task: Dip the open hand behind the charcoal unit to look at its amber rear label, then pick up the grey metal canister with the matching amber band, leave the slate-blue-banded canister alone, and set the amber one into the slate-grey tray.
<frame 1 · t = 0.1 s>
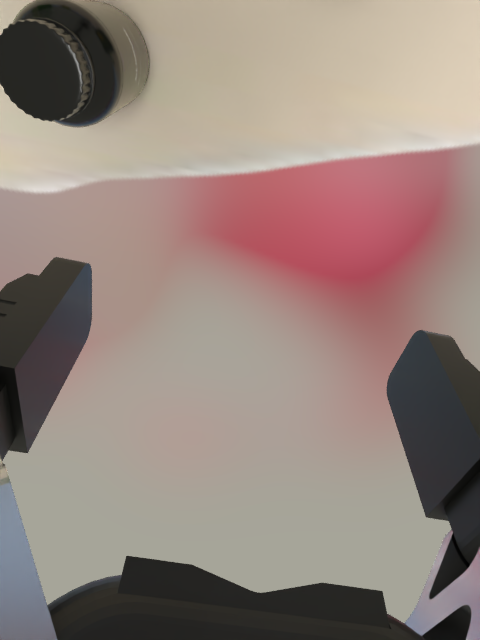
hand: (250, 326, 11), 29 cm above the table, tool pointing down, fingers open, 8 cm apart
supplement bottle: (106, 55, 32), on the table
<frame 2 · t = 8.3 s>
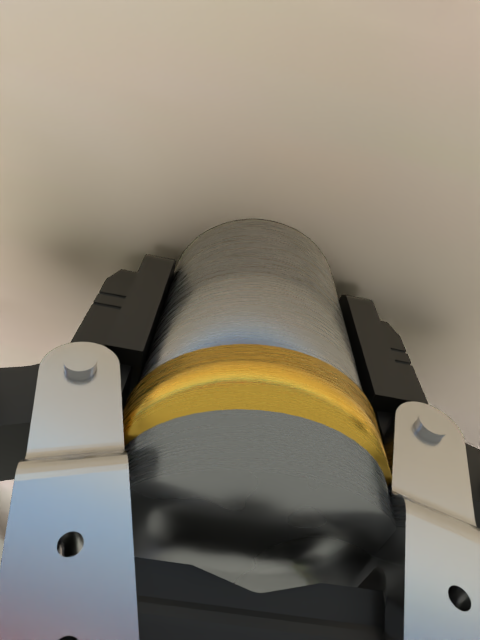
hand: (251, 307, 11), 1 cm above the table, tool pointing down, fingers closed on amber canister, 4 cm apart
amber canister: (252, 294, 12), on the table, touching gripper
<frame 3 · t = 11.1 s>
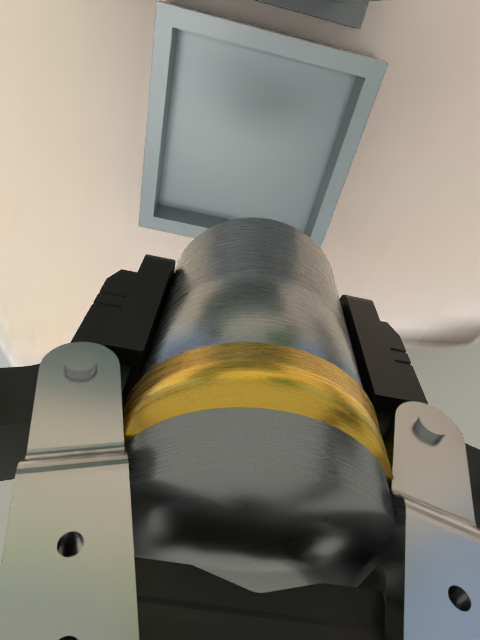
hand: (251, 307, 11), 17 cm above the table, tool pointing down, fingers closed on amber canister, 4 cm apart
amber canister: (252, 293, 12), point 16 cm above the table, touching gripper
tray: (249, 142, 25), on the table
when the fingers open (3 cm above the table, at t = 14.3 s): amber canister drops 2 cm, resting on tray.
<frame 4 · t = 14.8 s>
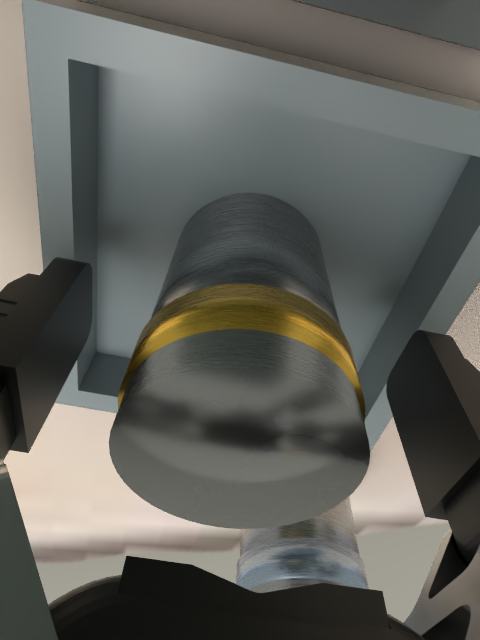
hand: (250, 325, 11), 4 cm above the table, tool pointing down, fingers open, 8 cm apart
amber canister: (248, 263, 13), point 1 cm above the table, touching tray
tray: (252, 257, 13), on the table
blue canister: (291, 454, 19), on the table
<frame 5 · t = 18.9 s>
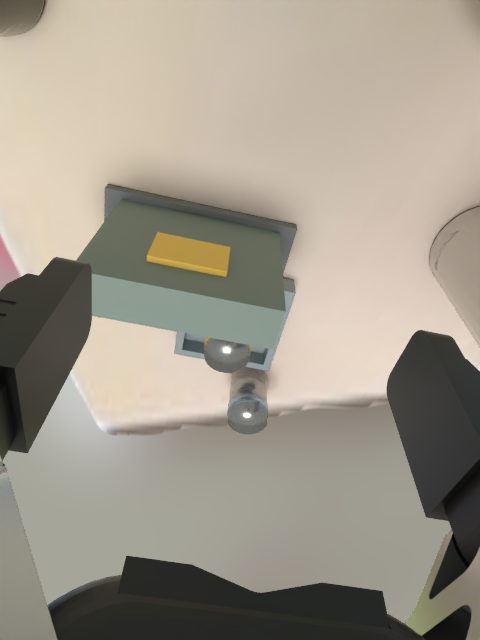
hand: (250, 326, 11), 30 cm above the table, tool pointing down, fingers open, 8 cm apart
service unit: (200, 228, 41), on the table
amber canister: (230, 314, 47), point 1 cm above the table, touching tray
tray: (232, 311, 47), on the table
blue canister: (248, 377, 53), on the table
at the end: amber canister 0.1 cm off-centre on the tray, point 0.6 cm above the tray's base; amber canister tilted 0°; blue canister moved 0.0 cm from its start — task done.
